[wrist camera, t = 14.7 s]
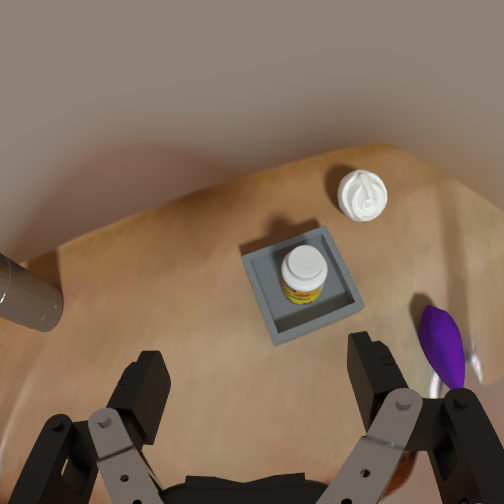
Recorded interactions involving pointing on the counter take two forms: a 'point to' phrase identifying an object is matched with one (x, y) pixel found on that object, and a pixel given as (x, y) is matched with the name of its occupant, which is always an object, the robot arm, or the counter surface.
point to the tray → (294, 316)
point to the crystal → (443, 346)
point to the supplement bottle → (303, 275)
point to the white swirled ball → (361, 195)
